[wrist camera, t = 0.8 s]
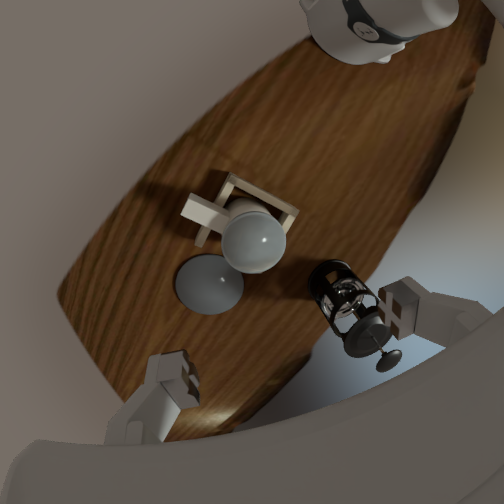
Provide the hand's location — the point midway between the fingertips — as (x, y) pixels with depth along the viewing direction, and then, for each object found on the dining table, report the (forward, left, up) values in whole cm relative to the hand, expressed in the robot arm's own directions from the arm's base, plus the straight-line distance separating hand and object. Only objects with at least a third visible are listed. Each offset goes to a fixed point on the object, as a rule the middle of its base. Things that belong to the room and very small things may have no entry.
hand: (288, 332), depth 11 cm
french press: (+7, +26, -35) cm, 44 cm away
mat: (+17, +5, -35) cm, 39 cm away
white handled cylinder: (+4, +2, -35) cm, 35 cm away
